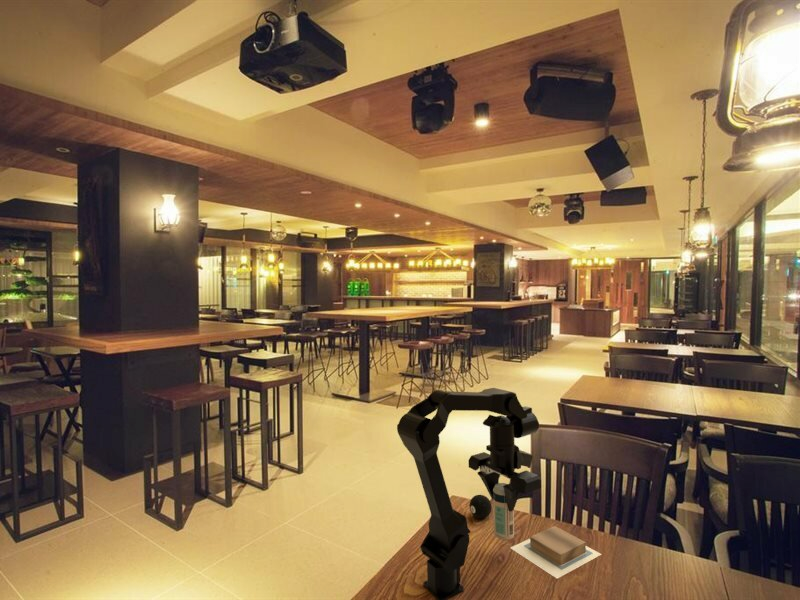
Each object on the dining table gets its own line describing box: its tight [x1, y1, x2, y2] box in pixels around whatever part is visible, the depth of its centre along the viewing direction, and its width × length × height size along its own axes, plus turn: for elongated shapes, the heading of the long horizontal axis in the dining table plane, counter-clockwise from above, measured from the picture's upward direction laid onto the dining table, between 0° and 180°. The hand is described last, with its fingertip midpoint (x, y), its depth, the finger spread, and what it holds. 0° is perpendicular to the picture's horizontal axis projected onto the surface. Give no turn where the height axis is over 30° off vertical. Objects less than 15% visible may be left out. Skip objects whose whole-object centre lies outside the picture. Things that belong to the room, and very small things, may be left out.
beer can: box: [492, 482, 515, 541], centre depth 106 cm, size 5×5×12 cm
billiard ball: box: [469, 494, 493, 519], centre depth 125 cm, size 6×6×6 cm
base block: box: [529, 525, 587, 565], centre depth 108 cm, size 9×9×2 cm
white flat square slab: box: [509, 538, 602, 579], centre depth 107 cm, size 16×14×1 cm
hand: (503, 506), depth 106 cm, fingers closed on beer can, 5 cm apart
